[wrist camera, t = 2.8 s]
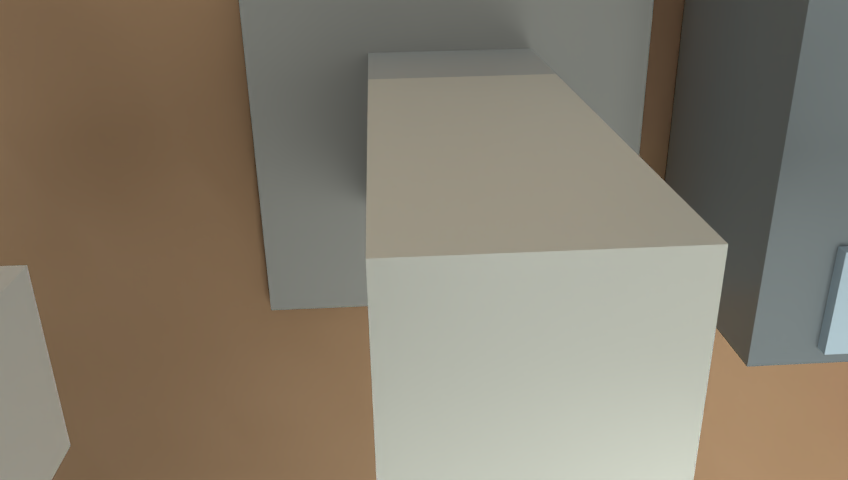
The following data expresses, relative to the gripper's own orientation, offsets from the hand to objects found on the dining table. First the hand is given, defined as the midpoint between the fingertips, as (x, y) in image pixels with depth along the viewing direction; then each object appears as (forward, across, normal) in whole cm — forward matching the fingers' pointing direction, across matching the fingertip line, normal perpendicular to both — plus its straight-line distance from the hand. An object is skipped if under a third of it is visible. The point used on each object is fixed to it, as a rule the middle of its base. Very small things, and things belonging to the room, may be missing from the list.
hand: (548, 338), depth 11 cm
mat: (+11, 0, 0) cm, 11 cm away
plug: (+11, 0, 0) cm, 11 cm away
